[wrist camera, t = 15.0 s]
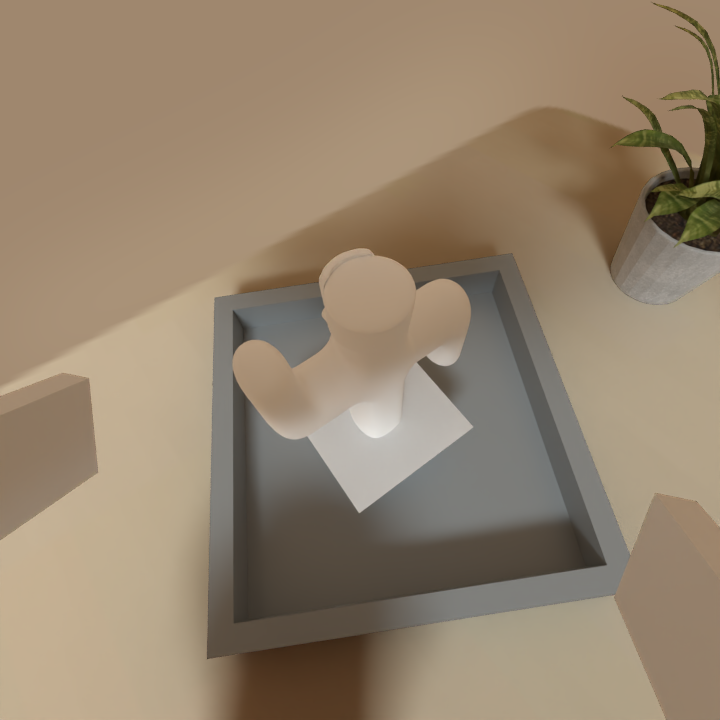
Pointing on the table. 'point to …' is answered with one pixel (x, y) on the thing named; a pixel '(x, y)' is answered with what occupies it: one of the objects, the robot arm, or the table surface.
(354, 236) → the table surface
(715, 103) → the house plant
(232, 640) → the tray
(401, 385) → the figurine
